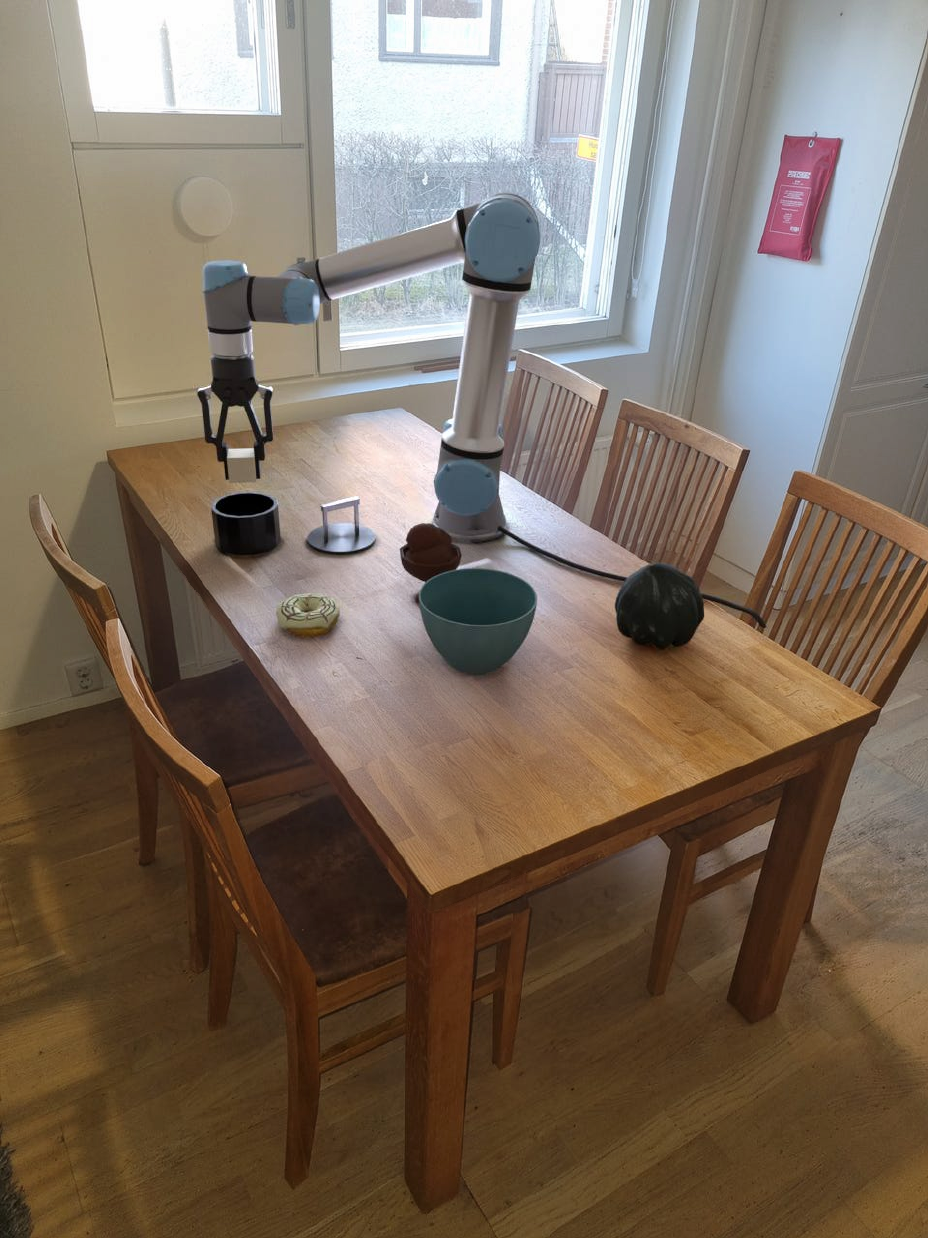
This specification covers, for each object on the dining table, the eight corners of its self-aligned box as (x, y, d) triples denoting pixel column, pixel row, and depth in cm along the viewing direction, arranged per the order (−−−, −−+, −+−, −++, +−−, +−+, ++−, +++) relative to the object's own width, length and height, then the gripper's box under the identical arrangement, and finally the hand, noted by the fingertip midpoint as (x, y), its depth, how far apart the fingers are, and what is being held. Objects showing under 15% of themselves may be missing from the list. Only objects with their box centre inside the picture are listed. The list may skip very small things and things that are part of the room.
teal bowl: (495, 708, 134) (499, 637, 128) (396, 669, 142) (395, 601, 136) (551, 653, 148) (557, 588, 142) (457, 621, 156) (459, 557, 150)
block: (257, 472, 176) (254, 447, 173) (256, 482, 171) (254, 457, 169) (230, 473, 175) (228, 448, 172) (229, 483, 171) (226, 457, 168)
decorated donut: (274, 641, 149) (272, 621, 147) (281, 608, 158) (279, 589, 156) (337, 640, 149) (336, 620, 147) (341, 607, 159) (340, 588, 157)
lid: (388, 547, 180) (387, 506, 176) (327, 563, 173) (325, 521, 169) (354, 523, 190) (353, 483, 185) (296, 537, 183) (293, 496, 178)
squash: (718, 595, 155) (669, 530, 151) (720, 642, 143) (667, 573, 139) (648, 632, 162) (599, 571, 158) (645, 681, 150) (592, 616, 145)
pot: (291, 548, 178) (288, 508, 174) (231, 563, 172) (226, 522, 168) (264, 525, 187) (261, 487, 183) (206, 539, 181) (201, 499, 176)
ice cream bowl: (454, 617, 157) (456, 539, 149) (392, 609, 159) (391, 531, 151) (466, 589, 166) (468, 514, 158) (407, 582, 168) (407, 507, 160)
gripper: (283, 348, 166) (290, 468, 178) (181, 348, 163) (196, 470, 175) (283, 359, 160) (291, 482, 171) (177, 359, 157) (193, 485, 168)
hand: (243, 476), depth 173 cm, fingers closed on block, 5 cm apart
